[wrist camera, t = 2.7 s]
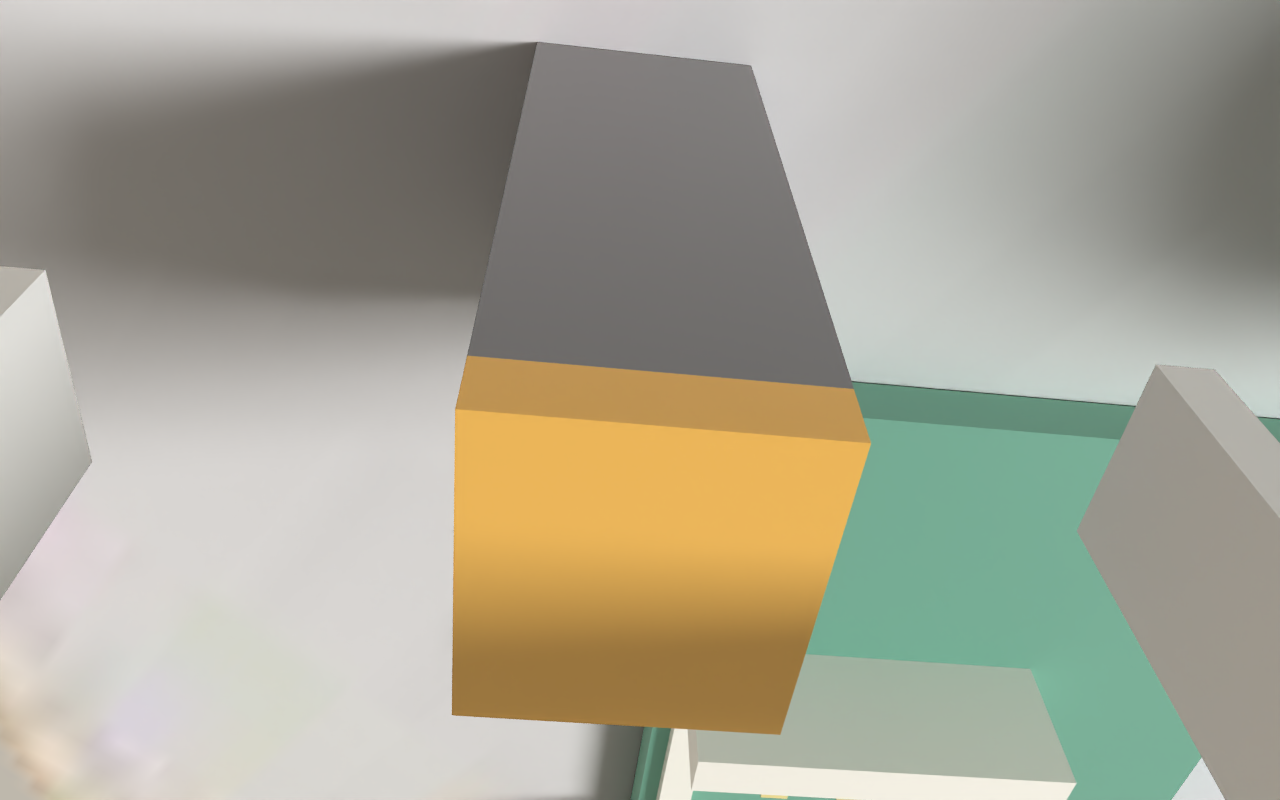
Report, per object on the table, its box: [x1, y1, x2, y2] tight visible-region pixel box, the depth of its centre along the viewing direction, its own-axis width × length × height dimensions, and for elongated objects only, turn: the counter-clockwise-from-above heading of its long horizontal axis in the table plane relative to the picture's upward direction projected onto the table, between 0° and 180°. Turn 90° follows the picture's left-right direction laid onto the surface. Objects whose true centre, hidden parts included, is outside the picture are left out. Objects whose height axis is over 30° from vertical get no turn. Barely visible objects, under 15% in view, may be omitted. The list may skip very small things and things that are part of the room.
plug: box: [452, 42, 871, 735], centre depth 14 cm, size 5×4×10 cm
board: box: [631, 382, 1280, 800], centre depth 24 cm, size 16×14×4 cm
